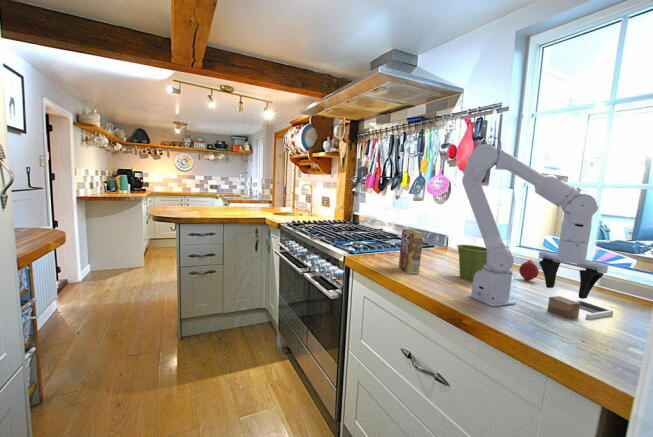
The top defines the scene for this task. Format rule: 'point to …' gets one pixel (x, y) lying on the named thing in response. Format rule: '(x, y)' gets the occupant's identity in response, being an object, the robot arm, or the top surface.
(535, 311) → the top surface
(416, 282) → the top surface
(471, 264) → the plant pot
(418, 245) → the candy box
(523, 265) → the pomegranate
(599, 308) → the channel
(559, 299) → the walnut block
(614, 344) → the top surface
